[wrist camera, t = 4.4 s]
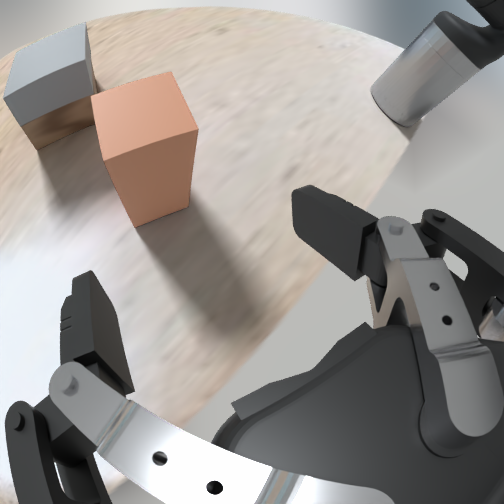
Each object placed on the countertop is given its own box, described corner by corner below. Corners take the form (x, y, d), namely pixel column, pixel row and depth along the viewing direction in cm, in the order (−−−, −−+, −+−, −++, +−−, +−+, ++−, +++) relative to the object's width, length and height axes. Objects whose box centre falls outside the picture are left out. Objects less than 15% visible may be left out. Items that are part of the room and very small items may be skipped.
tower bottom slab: (95, 78, 24) (89, 51, 19) (102, 121, 23) (94, 92, 19) (37, 103, 21) (26, 79, 17) (37, 150, 20) (21, 127, 16)
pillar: (169, 160, 24) (171, 71, 13) (188, 206, 23) (198, 128, 13) (118, 179, 22) (90, 96, 12) (134, 227, 21) (103, 160, 11)
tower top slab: (90, 51, 19) (85, 21, 15) (93, 93, 18) (85, 59, 14) (27, 78, 17) (16, 52, 13) (20, 126, 16) (2, 98, 12)
